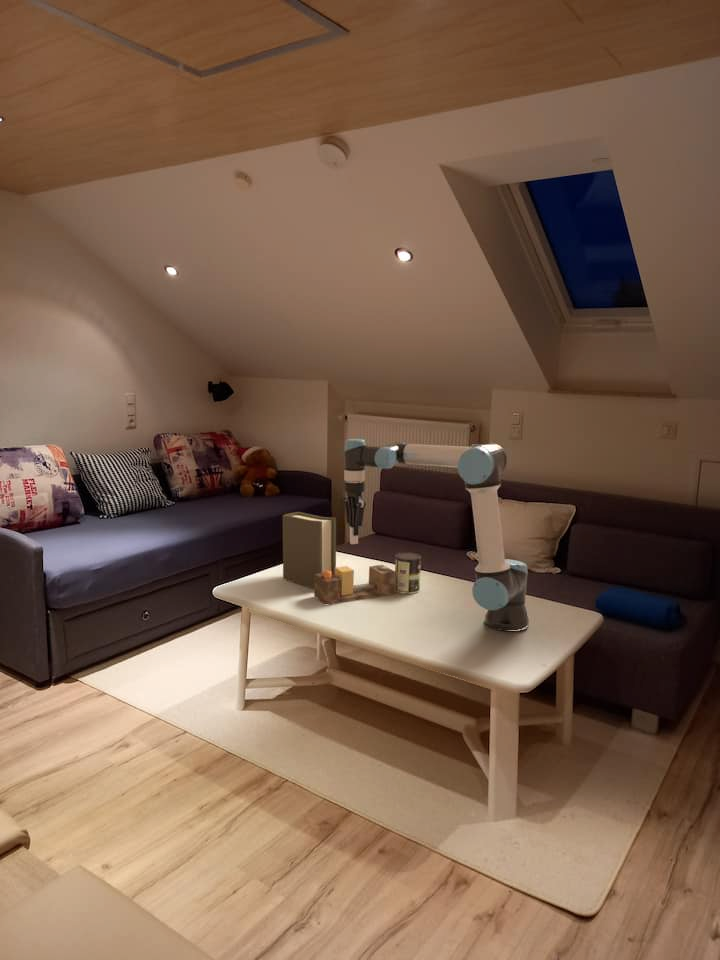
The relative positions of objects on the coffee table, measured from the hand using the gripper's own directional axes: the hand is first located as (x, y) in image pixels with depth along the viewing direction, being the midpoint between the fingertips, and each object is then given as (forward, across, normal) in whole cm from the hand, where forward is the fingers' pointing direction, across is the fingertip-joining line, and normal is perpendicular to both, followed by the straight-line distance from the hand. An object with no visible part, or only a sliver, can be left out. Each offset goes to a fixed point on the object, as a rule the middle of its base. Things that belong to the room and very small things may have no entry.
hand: (353, 543), depth 265 cm
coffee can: (+23, +2, -26) cm, 35 cm away
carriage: (+21, +6, +1) cm, 22 cm away
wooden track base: (+23, +6, -4) cm, 24 cm away
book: (+22, +27, +6) cm, 36 cm away
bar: (+21, +6, -4) cm, 22 cm away
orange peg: (+17, +6, +8) cm, 20 cm away
